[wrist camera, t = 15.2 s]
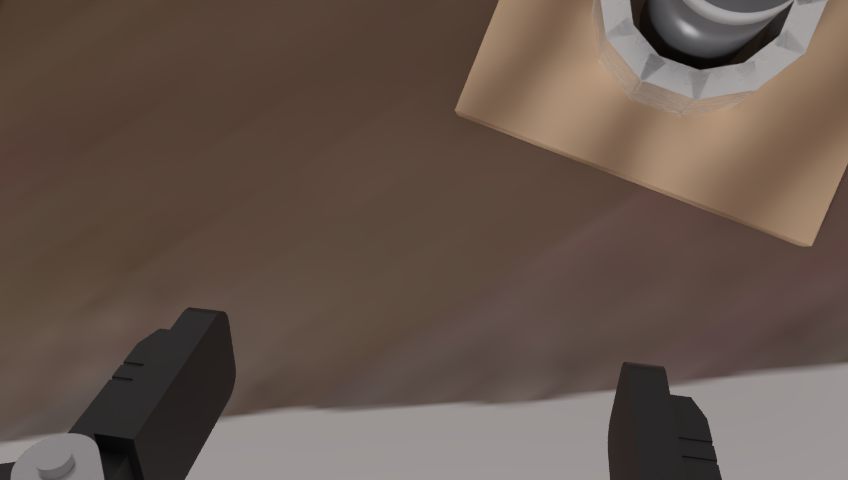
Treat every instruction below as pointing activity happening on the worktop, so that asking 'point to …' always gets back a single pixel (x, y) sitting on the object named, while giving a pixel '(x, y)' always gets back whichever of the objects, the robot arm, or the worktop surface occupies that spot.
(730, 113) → the mount board
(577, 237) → the worktop surface
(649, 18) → the grey cylinder
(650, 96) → the notched white ring
